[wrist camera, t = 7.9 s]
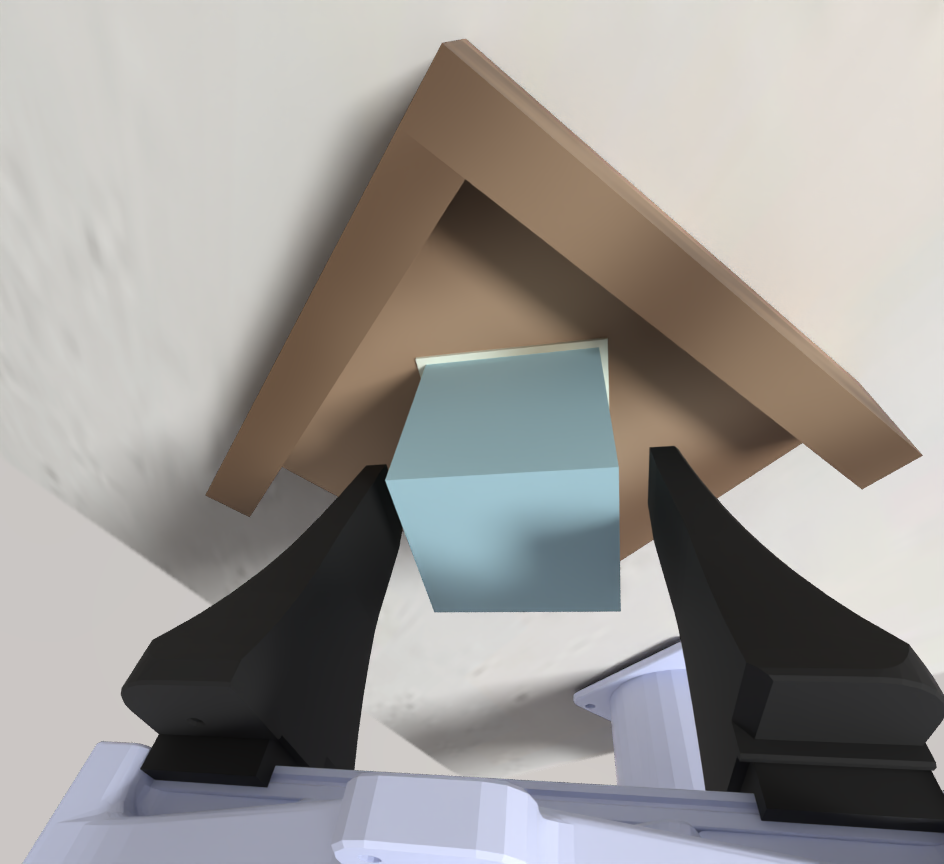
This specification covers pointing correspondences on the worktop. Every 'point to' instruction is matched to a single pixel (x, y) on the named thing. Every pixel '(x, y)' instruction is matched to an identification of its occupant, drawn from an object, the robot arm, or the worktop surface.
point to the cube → (512, 485)
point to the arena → (540, 312)
